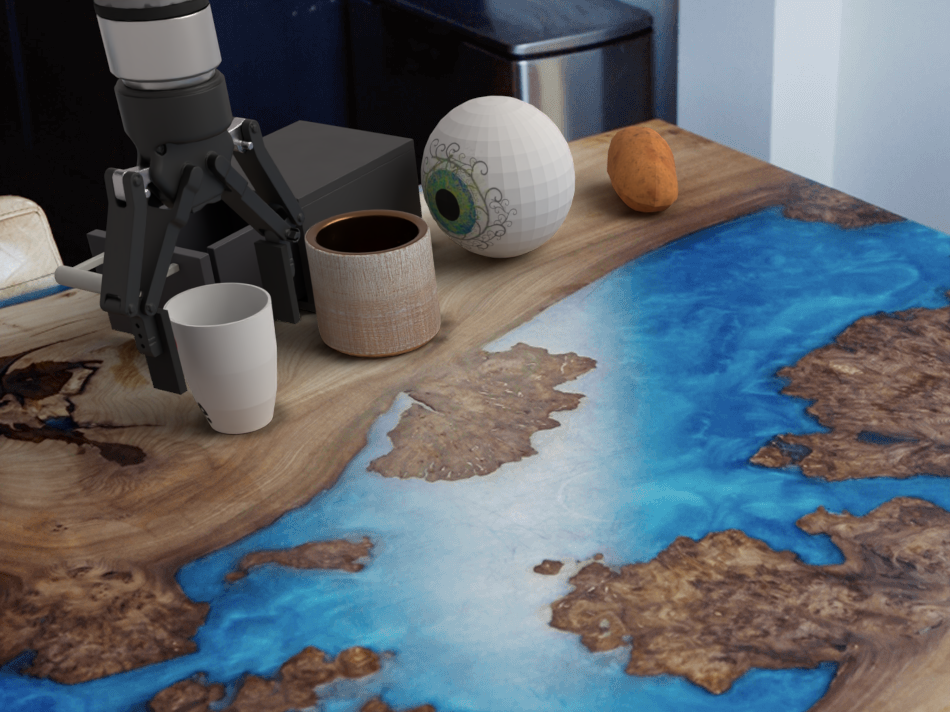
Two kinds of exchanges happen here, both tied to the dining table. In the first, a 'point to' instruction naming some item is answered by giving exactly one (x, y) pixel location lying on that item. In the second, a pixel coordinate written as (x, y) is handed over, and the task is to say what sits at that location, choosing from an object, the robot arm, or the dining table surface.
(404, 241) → the planter
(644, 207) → the potato
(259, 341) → the cup
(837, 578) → the dining table surface
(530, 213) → the decorative object
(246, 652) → the dining table surface
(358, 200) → the cabinet
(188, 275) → the drawer
